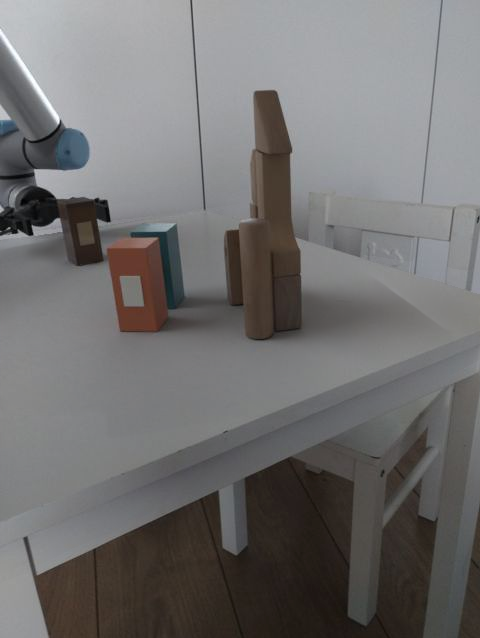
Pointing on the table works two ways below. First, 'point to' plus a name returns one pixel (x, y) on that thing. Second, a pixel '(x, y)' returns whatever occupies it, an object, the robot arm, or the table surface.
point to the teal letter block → (166, 258)
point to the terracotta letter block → (138, 284)
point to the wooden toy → (266, 232)
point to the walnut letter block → (80, 230)
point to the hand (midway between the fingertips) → (70, 221)
